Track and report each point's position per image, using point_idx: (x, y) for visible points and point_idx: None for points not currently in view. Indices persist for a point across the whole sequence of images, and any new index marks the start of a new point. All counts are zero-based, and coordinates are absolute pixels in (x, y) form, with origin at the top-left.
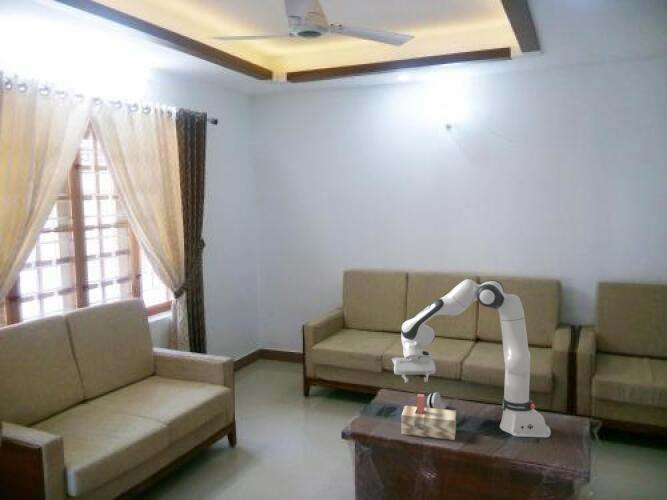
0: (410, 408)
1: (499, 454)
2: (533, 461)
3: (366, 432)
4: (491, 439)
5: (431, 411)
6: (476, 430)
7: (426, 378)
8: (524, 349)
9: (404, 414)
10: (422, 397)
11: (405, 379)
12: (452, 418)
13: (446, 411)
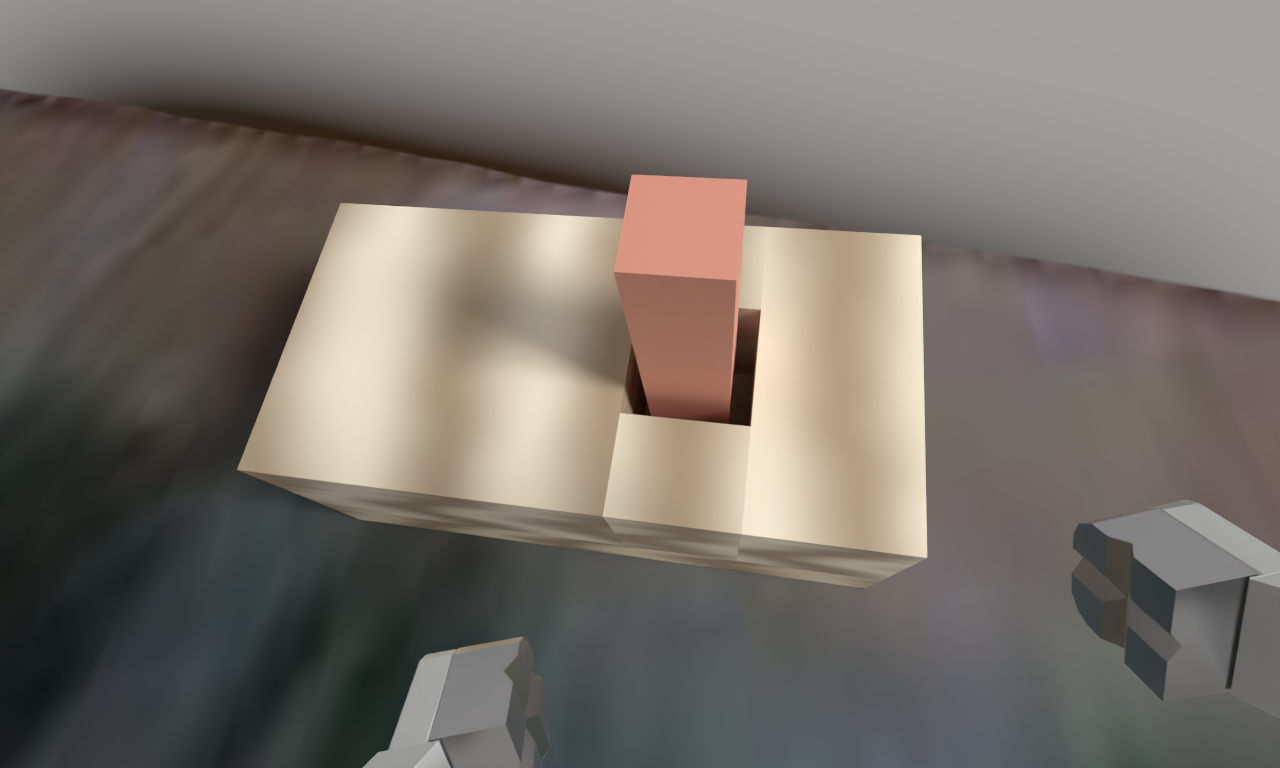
0: (831, 455)
1: (191, 160)
2: (41, 120)
3: (1209, 325)
4: (139, 360)
5: (551, 395)
6: (184, 518)
7: (445, 701)
8: None
9: (886, 257)
10: (651, 185)
11: (1229, 527)
12: (350, 244)
13: (365, 424)
